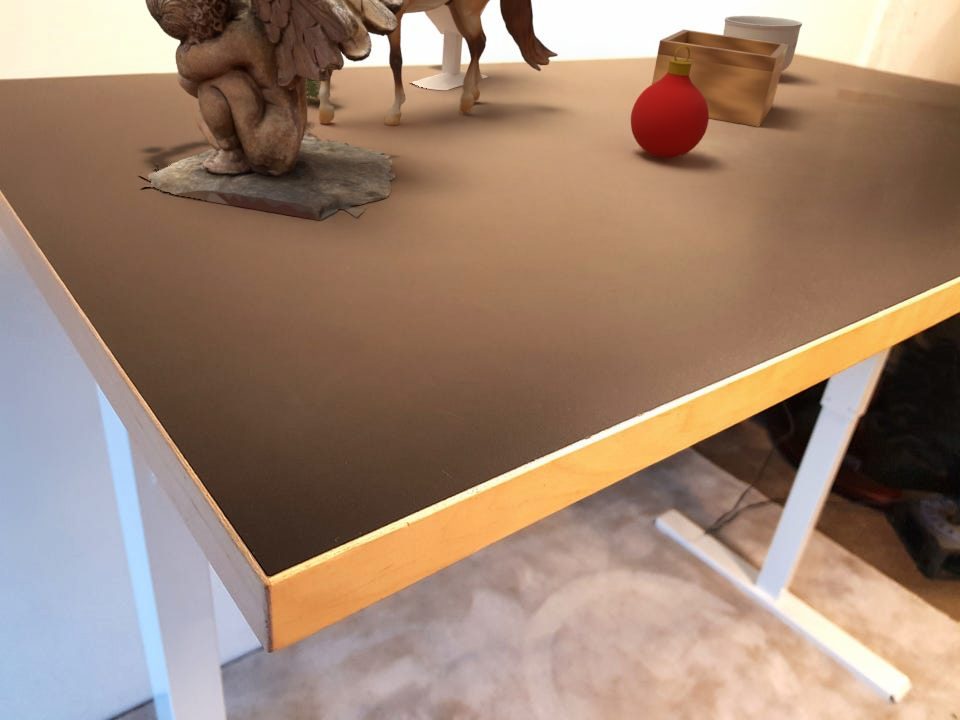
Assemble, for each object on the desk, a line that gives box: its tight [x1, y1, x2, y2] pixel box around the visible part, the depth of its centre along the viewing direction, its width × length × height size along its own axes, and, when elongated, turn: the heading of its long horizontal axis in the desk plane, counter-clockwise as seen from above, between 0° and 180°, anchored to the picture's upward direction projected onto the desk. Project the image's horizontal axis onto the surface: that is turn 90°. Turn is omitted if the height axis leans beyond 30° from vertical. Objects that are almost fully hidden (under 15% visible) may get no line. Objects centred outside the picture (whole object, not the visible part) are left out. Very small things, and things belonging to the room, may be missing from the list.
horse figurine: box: [318, 0, 559, 126], centre depth 77 cm, size 31×8×21 cm, turn 133°
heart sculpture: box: [411, 3, 489, 91], centre depth 94 cm, size 16×5×18 cm, turn 153°
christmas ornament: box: [630, 46, 710, 159], centre depth 73 cm, size 7×7×10 cm
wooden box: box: [651, 29, 788, 128], centre depth 95 cm, size 13×13×8 cm
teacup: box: [722, 15, 803, 73], centre depth 119 cm, size 14×11×8 cm
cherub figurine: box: [145, 0, 403, 222], centre depth 58 cm, size 18×18×18 cm
